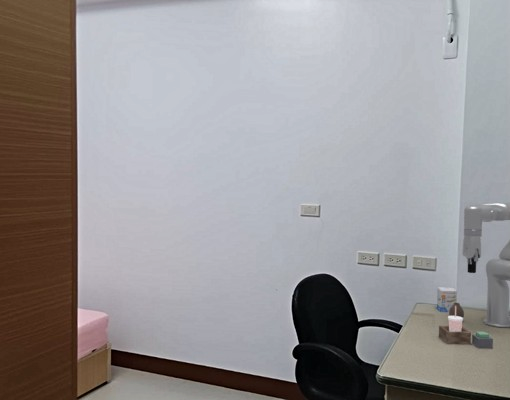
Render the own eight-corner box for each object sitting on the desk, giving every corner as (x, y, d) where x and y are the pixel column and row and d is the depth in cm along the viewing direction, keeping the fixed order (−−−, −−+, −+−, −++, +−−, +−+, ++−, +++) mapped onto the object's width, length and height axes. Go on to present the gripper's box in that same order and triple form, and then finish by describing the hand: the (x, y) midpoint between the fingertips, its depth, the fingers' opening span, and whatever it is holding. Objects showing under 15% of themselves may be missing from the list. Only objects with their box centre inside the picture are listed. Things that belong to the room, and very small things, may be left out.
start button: (484, 343, 211) (485, 331, 210) (488, 346, 207) (489, 334, 207) (475, 343, 211) (476, 331, 210) (479, 346, 207) (479, 334, 207)
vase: (465, 323, 244) (465, 305, 243) (450, 322, 245) (450, 304, 245) (462, 319, 250) (462, 302, 250) (447, 318, 252) (448, 301, 251)
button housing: (486, 343, 212) (486, 334, 212) (492, 348, 206) (492, 338, 206) (472, 343, 212) (472, 334, 212) (478, 348, 206) (478, 338, 206)
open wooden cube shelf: (461, 337, 221) (461, 325, 221) (470, 344, 211) (470, 332, 211) (438, 336, 221) (438, 325, 221) (446, 343, 211) (447, 332, 211)
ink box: (439, 311, 265) (440, 290, 264) (436, 307, 273) (437, 286, 273) (456, 312, 263) (457, 290, 263) (453, 308, 272) (453, 287, 271)
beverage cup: (461, 341, 212) (461, 308, 211) (446, 338, 215) (446, 306, 215) (463, 337, 217) (464, 305, 216) (449, 335, 220) (449, 303, 220)
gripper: (458, 231, 237) (457, 269, 237) (471, 234, 222) (470, 275, 222) (474, 231, 237) (473, 270, 237) (488, 234, 222) (487, 275, 222)
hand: (471, 272), depth 230 cm, fingers closed
